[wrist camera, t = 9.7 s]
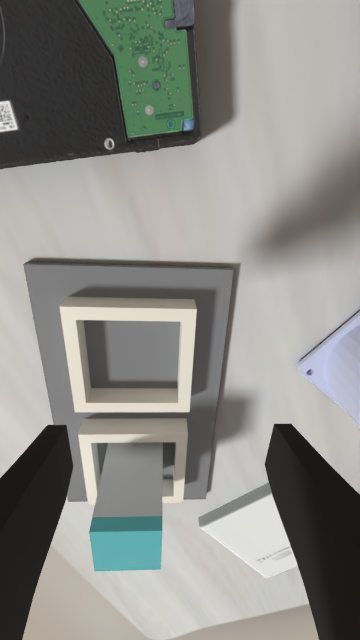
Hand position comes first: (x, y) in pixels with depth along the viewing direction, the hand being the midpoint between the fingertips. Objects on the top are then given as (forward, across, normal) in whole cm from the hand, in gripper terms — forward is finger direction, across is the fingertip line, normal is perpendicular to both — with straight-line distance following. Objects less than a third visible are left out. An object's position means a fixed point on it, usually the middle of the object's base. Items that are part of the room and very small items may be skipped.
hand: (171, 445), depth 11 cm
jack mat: (+10, +2, +7) cm, 12 cm away
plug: (+9, +2, +11) cm, 15 cm away
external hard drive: (+11, -10, +23) cm, 28 cm away
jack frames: (+10, +2, +7) cm, 12 cm away
